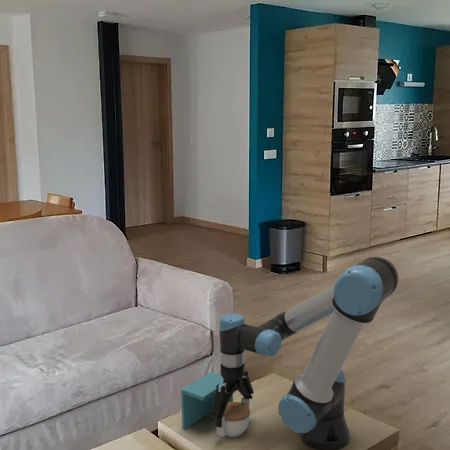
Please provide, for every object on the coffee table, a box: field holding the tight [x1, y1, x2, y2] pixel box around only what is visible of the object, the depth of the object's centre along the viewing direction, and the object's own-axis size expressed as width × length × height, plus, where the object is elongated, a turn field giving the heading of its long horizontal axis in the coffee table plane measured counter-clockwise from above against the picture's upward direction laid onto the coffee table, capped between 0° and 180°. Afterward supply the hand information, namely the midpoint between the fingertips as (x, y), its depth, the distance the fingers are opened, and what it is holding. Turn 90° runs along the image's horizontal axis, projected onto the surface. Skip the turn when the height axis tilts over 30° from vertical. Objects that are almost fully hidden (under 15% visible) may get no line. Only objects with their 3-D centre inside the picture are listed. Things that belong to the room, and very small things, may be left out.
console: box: [180, 371, 234, 430], centre depth 194 cm, size 9×16×14 cm, turn 144°
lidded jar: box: [223, 401, 251, 438], centre depth 189 cm, size 11×11×9 cm
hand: (233, 426), depth 189 cm, fingers open, 13 cm apart
